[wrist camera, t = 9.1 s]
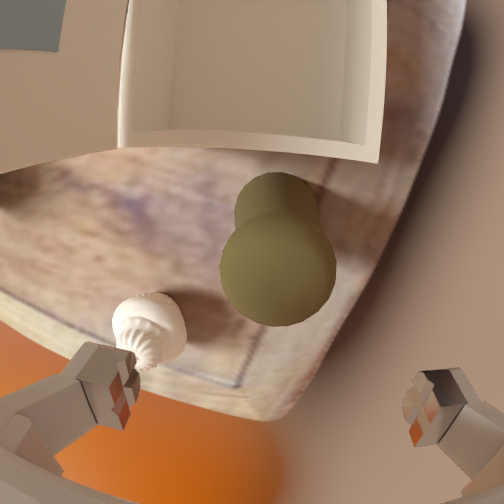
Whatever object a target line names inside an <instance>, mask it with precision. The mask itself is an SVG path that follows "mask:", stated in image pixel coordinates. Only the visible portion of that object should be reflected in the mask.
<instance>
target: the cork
mask: <svg viewBox="0 0 504 504" xmlns="http://www.w3.org/2000/svg"><path fill="white" fill-rule="evenodd" d="M235 227H236V230H235V231H234V232H233V234H232V236H231V237H230V239H229V240H228V242H227V243H226V245H225V247H224V250H223V254H222V258H221V262H220V274H221V282H222V287H223V290H224V292H225V294H226V296H227V298H228V300H229V302H230V303H231V304H232V305H233V306H234V307H235V308H236V309H237V310H238V311H239V312H240V313H241V314H242V315H244V316H245V317H247V318H249V319H251V320H253V321H255V322H256V323H259V324H264V325H268V326H272V327H274V326H289V325H293V324H296V323H299V322H302V321H304V320H306V319H307V318H309V317H310V316H312V315H313V314H315V313H316V312H318V311H319V310H320V309H321V307H322V306H323V305H324V304H325V303H326V302H327V300H328V299H329V297H330V295H331V292H332V290H333V287H334V285H335V280H336V259H335V255H334V252H333V249H332V246H331V244H330V242H329V240H328V239H327V237H326V236H325V235H324V234H323V232H322V231H321V230H320V228H319V221H318V204H317V201H316V198H315V195H314V193H313V192H312V190H311V189H310V188H309V187H308V185H307V184H306V183H305V182H303V181H302V180H300V179H299V178H297V177H296V176H293V175H290V174H286V173H283V172H275V173H266V174H263V175H261V176H258V177H255V178H254V179H253V180H251V181H250V182H249V183H248V184H247V185H245V186H244V188H243V189H242V191H241V193H240V194H239V196H238V198H237V202H236V206H235Z"/></svg>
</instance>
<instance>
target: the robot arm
mask: <svg viewBox="0 0 504 504" xmlns="http://www.w3.org/2000/svg"><path fill="white" fill-rule="evenodd" d="M136 363H137V361H136V357H135V353H133V352H132V351H128V350H124V349H119V348H115V347H111V346H106V345H100V344H97V343H93V342H89V341H88V342H85V343H84V344H83V345H82V346H81V347H80V349H79V350H78V351H77V353H76V354H75V355H74V357H73V358H72V359H71V361H70V362H69V363H68V365H67V366H66V367H65V369H64V370H63V371H62V373H61V374H54V375H51V376H49V377H47V378H45V379H42V380H40V381H38V382H36V383H33V384H31V385H29V386H26V387H24V388H22V389H20V390H17V391H15V392H13V393H10V394H8V395H6V396H4V397H1V398H0V504H140V503H136V502H133V501H129V500H126V499H122V498H119V497H116V496H113V495H109V494H107V493H104V492H101V491H98V490H95V489H92V488H89V487H87V486H84V485H81V484H79V483H76V482H74V481H71V480H69V479H66V478H64V477H62V474H63V472H64V471H63V469H62V467H61V465H60V464H59V462H58V461H57V460H56V458H55V457H54V455H56V454H57V453H58V452H60V451H61V450H63V449H64V448H66V447H67V446H69V445H70V444H72V443H73V442H74V441H76V440H77V439H79V438H80V437H82V436H83V435H84V434H86V433H87V432H89V431H90V430H91V429H93V428H94V427H96V426H97V424H99V425H103V426H107V427H111V428H115V429H119V430H124V428H125V426H126V423H127V421H128V419H129V417H130V414H131V413H130V410H129V407H130V406H131V405H133V404H135V403H136V401H137V399H138V396H139V391H140V376H139V373H138V372H137V371H136V370H135V369H134V367H135V365H136ZM412 382H413V385H414V386H413V387H412V388H411V389H409V390H408V391H407V392H406V395H405V397H404V399H403V406H402V409H403V415H404V418H405V420H406V421H407V422H408V423H409V424H411V427H410V430H409V433H410V436H411V439H412V442H413V445H414V447H421V446H429V445H435V444H438V445H437V446H438V447H439V448H440V449H441V450H442V451H443V452H444V453H445V454H446V455H447V456H448V457H449V458H450V459H451V460H452V461H453V462H454V463H455V464H457V466H458V467H459V468H461V469H462V470H463V471H464V472H465V473H466V474H467V475H468V476H469V477H470V478H471V479H472V480H471V482H469V484H467V486H465V487H464V488H463V490H462V492H461V493H462V497H461V498H458V499H455V500H452V501H449V502H445V503H441V504H504V413H503V412H501V411H500V410H498V409H497V408H495V407H493V406H492V405H490V404H489V403H487V402H486V401H481V400H480V398H479V396H478V395H477V393H476V391H475V390H474V388H473V386H472V384H471V383H470V381H469V379H468V378H467V376H466V375H465V373H464V371H463V370H462V369H461V368H459V367H457V368H448V369H439V370H426V371H418V372H417V373H416V374H415V376H414V378H413V380H412Z"/></svg>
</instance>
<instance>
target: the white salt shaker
mask: <svg viewBox="0 0 504 504" xmlns="http://www.w3.org/2000/svg"><path fill="white" fill-rule="evenodd" d="M112 325H113V331H114V334H115V337H116V344H117V346H116V348H119V349H124V350H128V351H132V352H133V353H135V357H136V361H137V363H136V365H135V367H134V368H138V369H139V370H142V369H146V370H150V368H153V367H156V366H157V364H163V363H167V362H170V361H173V360H175V359H176V358H177V357H179V356H180V355H181V353H182V352H183V350H184V348H185V346H186V342H187V333H186V328H185V322H184V320H183V316H182V314H181V312H180V309H179V307H178V305H177V303H176V302H174V300H173V299H172V298H171V297H168V295H165V294H164V293H163V294H161V293H147V294H141V295H137V296H135V297H132V298H129V299H127V300H125V301H123V302H122V303H121V304H120V305H119V306H118V307H117V309H116V310H115V312H114V315H113V320H112Z"/></svg>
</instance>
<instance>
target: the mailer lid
mask: <svg viewBox="0 0 504 504" xmlns="http://www.w3.org/2000/svg"><path fill="white" fill-rule="evenodd" d="M127 1H128V0H0V174H3V173H6V172H10V171H14V170H18V169H21V168H25V167H29V166H33V165H38V164H42V163H46V162H50V161H55V160H60V159H64V158H69V157H74V156H79V155H84V154H89V153H95V152H101V151H106V150H112V149H117V102H118V83H119V69H120V57H121V47H122V38H123V29H124V22H125V14H126V8H127Z"/></svg>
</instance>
